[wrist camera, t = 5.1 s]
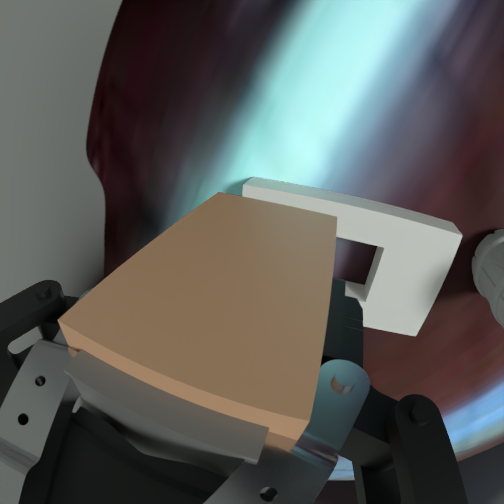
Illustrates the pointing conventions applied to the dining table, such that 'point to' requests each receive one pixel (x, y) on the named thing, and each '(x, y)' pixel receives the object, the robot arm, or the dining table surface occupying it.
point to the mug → (491, 272)
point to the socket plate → (380, 250)
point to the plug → (209, 333)
